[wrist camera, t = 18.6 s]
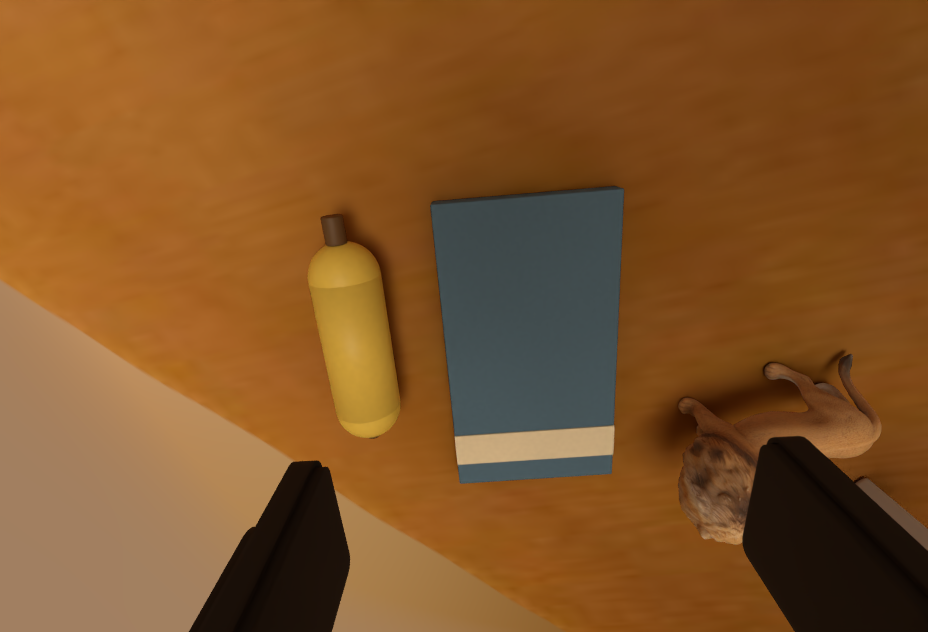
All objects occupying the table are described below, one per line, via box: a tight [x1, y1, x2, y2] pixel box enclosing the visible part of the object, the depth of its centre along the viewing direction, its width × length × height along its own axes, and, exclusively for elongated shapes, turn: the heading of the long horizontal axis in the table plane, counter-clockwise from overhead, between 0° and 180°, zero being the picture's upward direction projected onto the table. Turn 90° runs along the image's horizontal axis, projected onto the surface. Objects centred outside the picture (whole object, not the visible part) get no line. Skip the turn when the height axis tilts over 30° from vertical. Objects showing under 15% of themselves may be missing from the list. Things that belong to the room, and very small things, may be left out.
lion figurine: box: [678, 354, 881, 545], centre depth 28 cm, size 15×5×9 cm, turn 123°
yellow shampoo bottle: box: [307, 214, 401, 439], centre depth 28 cm, size 15×4×4 cm, turn 5°
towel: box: [430, 186, 624, 483], centre depth 30 cm, size 20×11×2 cm, turn 5°
